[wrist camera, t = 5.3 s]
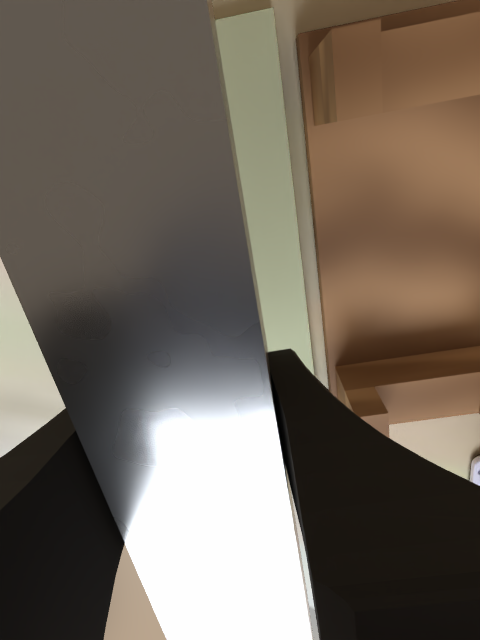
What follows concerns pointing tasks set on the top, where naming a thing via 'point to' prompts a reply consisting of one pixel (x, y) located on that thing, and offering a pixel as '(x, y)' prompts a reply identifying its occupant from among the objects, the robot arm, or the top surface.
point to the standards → (397, 208)
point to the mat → (266, 175)
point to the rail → (151, 300)
